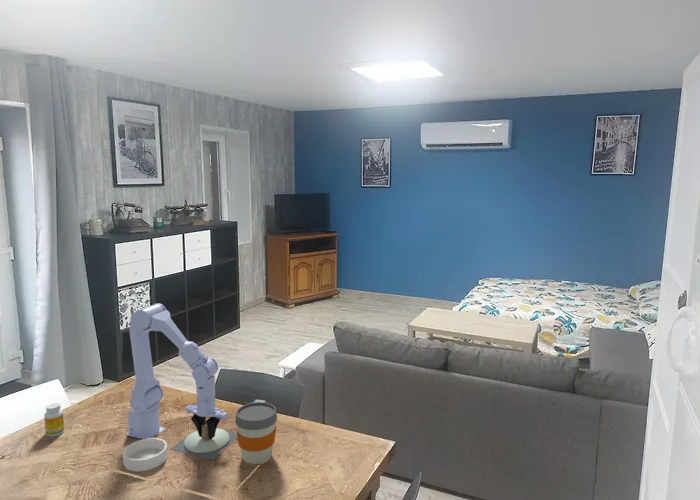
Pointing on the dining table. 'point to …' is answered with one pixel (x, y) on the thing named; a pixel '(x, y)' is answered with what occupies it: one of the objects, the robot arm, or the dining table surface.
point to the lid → (206, 441)
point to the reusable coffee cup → (256, 431)
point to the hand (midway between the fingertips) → (207, 436)
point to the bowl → (145, 454)
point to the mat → (211, 455)
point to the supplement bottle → (54, 420)
